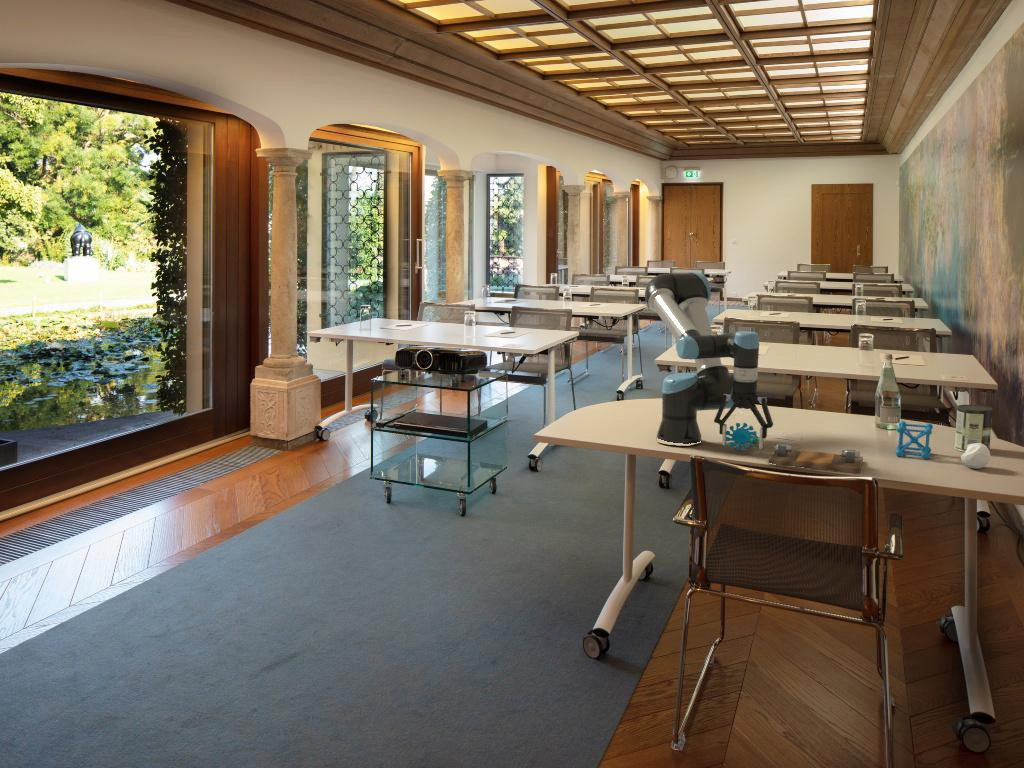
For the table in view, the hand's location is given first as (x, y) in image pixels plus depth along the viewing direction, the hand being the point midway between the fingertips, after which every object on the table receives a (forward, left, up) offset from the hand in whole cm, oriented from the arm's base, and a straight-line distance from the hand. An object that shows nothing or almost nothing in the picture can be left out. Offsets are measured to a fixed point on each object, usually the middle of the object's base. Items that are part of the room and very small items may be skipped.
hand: (742, 446), depth 279 cm
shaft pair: (+23, -4, -1) cm, 24 cm away
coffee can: (+67, +32, -2) cm, 74 cm away
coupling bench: (+23, -4, -2) cm, 24 cm away
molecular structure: (+50, +18, -2) cm, 53 cm away
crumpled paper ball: (+67, +8, -2) cm, 68 cm away
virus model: (0, 0, -1) cm, 1 cm away
